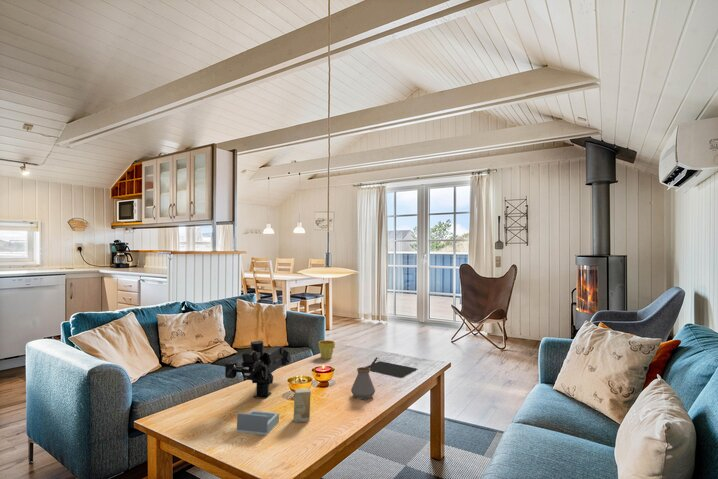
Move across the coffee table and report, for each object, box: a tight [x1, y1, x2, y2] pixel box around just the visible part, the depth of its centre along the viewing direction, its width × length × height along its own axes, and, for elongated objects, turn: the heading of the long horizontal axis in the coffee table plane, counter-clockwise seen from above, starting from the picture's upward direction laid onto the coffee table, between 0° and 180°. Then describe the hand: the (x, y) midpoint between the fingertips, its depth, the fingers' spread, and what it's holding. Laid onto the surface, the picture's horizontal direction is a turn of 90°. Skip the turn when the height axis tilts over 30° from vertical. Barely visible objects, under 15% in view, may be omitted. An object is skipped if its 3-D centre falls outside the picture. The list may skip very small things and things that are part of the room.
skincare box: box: [293, 387, 311, 424], centre depth 164 cm, size 6×4×12 cm
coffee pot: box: [350, 357, 380, 400], centre depth 195 cm, size 21×12×15 cm, turn 152°
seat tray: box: [236, 409, 280, 436], centre depth 157 cm, size 12×12×7 cm
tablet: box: [365, 360, 418, 379], centre depth 233 cm, size 27×1×20 cm
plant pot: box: [318, 339, 336, 360], centre depth 255 cm, size 10×10×10 cm
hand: (236, 377), depth 165 cm, fingers open, 9 cm apart
